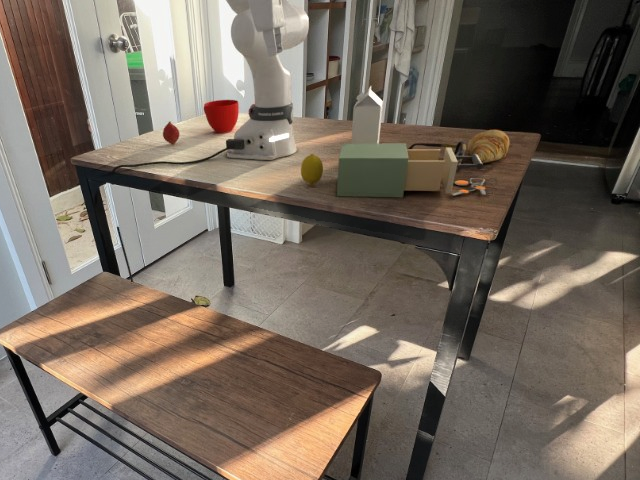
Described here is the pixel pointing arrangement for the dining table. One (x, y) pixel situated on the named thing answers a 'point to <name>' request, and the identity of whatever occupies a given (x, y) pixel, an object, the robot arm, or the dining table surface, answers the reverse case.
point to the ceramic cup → (222, 115)
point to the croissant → (489, 145)
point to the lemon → (311, 169)
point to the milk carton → (367, 118)
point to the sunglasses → (459, 147)
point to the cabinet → (372, 170)
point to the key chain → (474, 185)
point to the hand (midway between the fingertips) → (276, 54)
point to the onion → (171, 133)
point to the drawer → (434, 169)
